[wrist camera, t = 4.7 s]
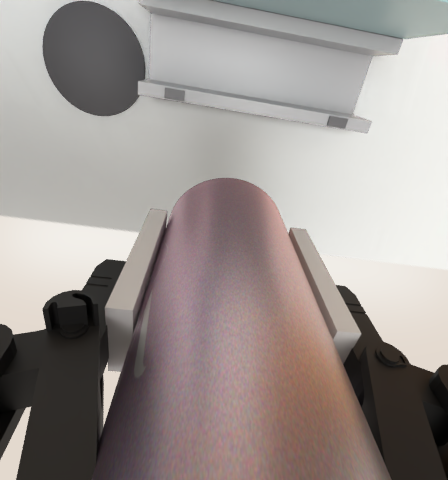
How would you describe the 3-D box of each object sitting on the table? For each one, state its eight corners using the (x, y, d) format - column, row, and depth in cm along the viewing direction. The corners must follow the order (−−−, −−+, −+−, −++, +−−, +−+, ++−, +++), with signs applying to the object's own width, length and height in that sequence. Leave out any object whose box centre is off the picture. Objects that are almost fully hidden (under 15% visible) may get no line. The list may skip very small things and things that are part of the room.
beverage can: (253, 281, 18) (338, 796, 5) (158, 253, 17) (-22, 825, 4) (298, 195, 16) (699, 840, 3) (188, 156, 14) (-63, 949, 1)
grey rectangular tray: (149, 90, 29) (137, 94, 24) (152, -1, 25) (138, -15, 21) (346, 124, 31) (368, 134, 26) (374, 43, 27) (404, 39, 23)
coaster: (51, 107, 29) (49, 107, 29) (37, -9, 25) (35, -10, 25) (144, 122, 30) (143, 122, 30) (146, 13, 26) (145, 12, 26)
